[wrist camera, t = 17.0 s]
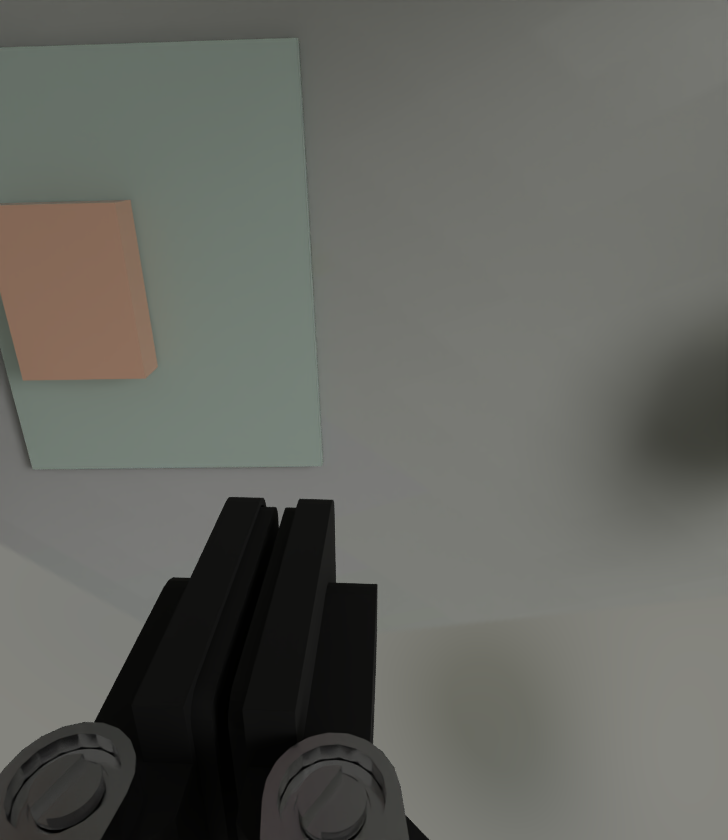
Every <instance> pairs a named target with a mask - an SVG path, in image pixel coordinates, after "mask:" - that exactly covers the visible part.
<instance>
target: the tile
mask: <svg viewBox="0 0 728 840" xmlns="http://www.w3.org/2000/svg"><path fill="white" fill-rule="evenodd" d="M0 293H1V297H2V301H3V305H4V309H5V313H6V317H7V321H8V325H9V328H10V332H11V336H12V340H13V344H14V348H15V352H16V356H17V359H18V363H19V367H20V371H21V375H22V379H23V381H26V380H90V379H146V378H147V377H148V376H149V375H150V374H151V373H152V372H153V371H154V370H155V369H156V368H157V367H158V364H157V358H156V352H155V346H154V340H153V334H152V328H151V322H150V315H149V309H148V303H147V297H146V291H145V285H144V279H143V273H142V267H141V261H140V255H139V249H138V242H137V236H136V230H135V224H134V218H133V212H132V206H131V200H100V201H60V202H20V203H0Z"/></svg>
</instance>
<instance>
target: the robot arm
mask: <svg viewBox="0 0 728 840" xmlns="http://www.w3.org/2000/svg"><path fill="white" fill-rule="evenodd" d="M376 642H377V584H356V583H336V562H335V514H334V501H333V500H320V499H299V501H298V504H297V507H296V508H285V510H284V514H283V517H282V520H281V524H280V527H279V524H278V512H277V508H276V507H266V503H265V500H264V498H248V497H229V498H228V499H227V501H226V503H225V505H224V507H223V509H222V511H221V513H220V515H219V518H218V520H217V522H216V524H215V526H214V528H213V531H212V533H211V535H210V537H209V539H208V541H207V543H206V546H205V548H204V550H203V552H202V554H201V556H200V558H199V561H198V563H197V565H196V567H195V569H194V571H193V573H192V576H191V578H175V577H173V578H171V579H170V580H168V582H167V583H166V585H165V586H164V588H163V590H162V592H161V594H160V595H159V597H158V599H157V601H156V603H155V605H154V607H153V609H152V611H151V613H150V615H149V617H148V619H147V621H146V623H145V625H144V627H143V629H142V630H141V632H140V634H139V636H138V638H137V640H136V642H135V644H134V646H133V648H132V650H131V652H130V654H129V656H128V658H127V660H126V662H125V664H124V666H123V667H122V670H121V671H120V673H119V675H118V677H117V679H116V681H115V683H114V685H113V687H112V689H111V691H110V693H109V695H108V696H107V699H106V700H105V702H104V704H103V706H102V708H101V710H100V712H99V714H98V716H97V718H96V720H95V722H94V723H93V722H82V723H78V724H74V725H69V726H64V727H62V728H59V729H57V730H55V731H52V732H50V733H48V734H46V735H44V736H41V737H40V738H39V739H37V740H36V741H34V742H33V743H31V744H30V745H29V746H27V747H26V748H24V749H23V750H22V751H21V752H20V753H19V754H18V755H17V756H16V757H15V758H14V759H13V760H12V761H11V762H10V763H9V764H8V765H7V766H6V767H5V768H4V770H3V771H2V772H1V773H0V840H429V839H428V838H427V837H426V836H425V835H424V834H423V833H422V832H421V831H420V830H419V829H418V828H417V827H416V826H415V825H414V823H413V822H412V821H411V820H410V819H409V818H408V817H407V816H406V815H405V811H404V805H403V798H402V792H401V786H400V783H399V780H398V777H397V774H396V772H395V768H394V766H393V765H392V764H391V762H390V761H389V760H388V758H387V757H386V756H385V754H384V753H383V752H382V751H381V750H380V749H378V748H377V747H376V746H374V745H373V729H374V728H373V727H374V702H375V676H376Z"/></svg>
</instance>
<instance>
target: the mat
mask: <svg viewBox="0 0 728 840" xmlns="http://www.w3.org/2000/svg"><path fill="white" fill-rule="evenodd" d="M100 200H131V206H132V212H133V218H134V224H135V230H136V236H137V242H138V249H139V255H140V261H141V267H142V273H143V279H144V285H145V291H146V297H147V303H148V309H149V315H150V322H151V328H152V334H153V340H154V346H155V352H156V358H157V364H158V367H157V368H156V369H155V370H154V371H153V372H152V373H151V374H150V375H149V376H148V377H147V378H146V379H90V380H26V381H23V379H22V375H21V371H20V367H19V363H18V359H17V356H16V352H15V348H14V344H13V340H12V336H11V332H10V328H9V325H8V321H7V317H6V313H5V309H4V305H3V301H2V297H1V293H0V349H1V353H2V357H3V360H4V364H5V368H6V372H7V375H8V379H9V383H10V387H11V390H12V394H13V398H14V402H15V405H16V409H17V413H18V417H19V420H20V424H21V428H22V432H23V435H24V439H25V443H26V447H27V450H28V454H29V458H30V462H31V465H32V469H117V468H207V467H297V466H322V464H323V452H322V435H321V417H320V400H319V382H318V365H317V347H316V329H315V312H314V294H313V277H312V259H311V242H310V224H309V207H308V189H307V172H306V154H305V137H304V119H303V102H302V84H301V67H300V49H299V39H298V38H272V39H242V40H211V41H181V42H151V43H120V44H90V45H60V46H30V47H0V203H20V202H60V201H100Z"/></svg>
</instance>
